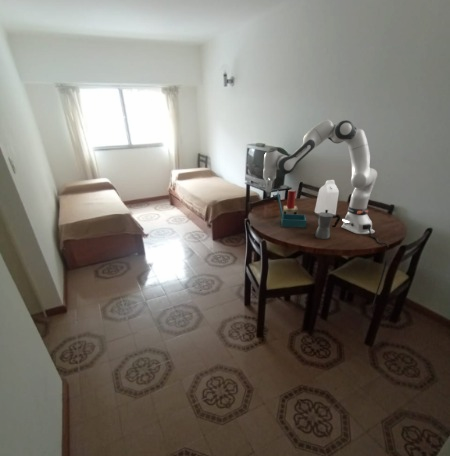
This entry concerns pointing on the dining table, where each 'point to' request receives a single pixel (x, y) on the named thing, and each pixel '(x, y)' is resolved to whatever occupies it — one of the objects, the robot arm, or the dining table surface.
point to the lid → (279, 202)
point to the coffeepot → (325, 224)
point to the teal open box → (293, 220)
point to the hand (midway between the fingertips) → (268, 195)
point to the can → (291, 199)
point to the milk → (327, 198)
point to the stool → (290, 210)
